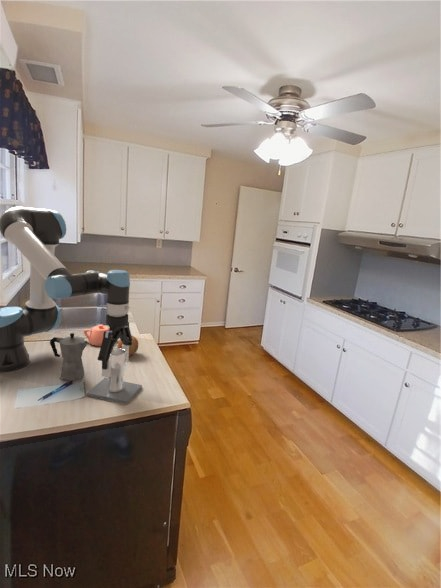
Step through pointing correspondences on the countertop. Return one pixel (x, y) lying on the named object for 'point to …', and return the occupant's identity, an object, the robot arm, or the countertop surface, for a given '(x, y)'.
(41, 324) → the robot arm
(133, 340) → the onion
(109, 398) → the slate board
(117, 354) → the beer glass
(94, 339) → the teapot
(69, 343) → the coffeepot
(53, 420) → the countertop surface
